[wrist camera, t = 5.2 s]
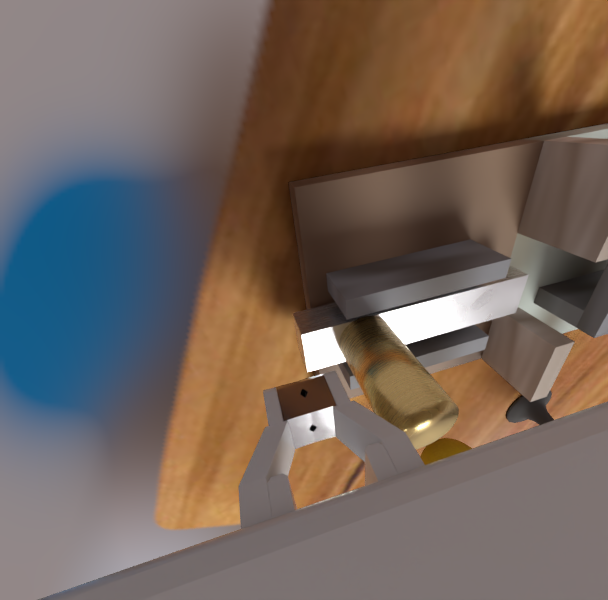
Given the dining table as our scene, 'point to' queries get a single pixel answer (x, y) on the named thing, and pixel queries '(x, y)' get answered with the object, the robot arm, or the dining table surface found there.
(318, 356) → the bolt
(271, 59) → the dining table surface
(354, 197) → the lock board
